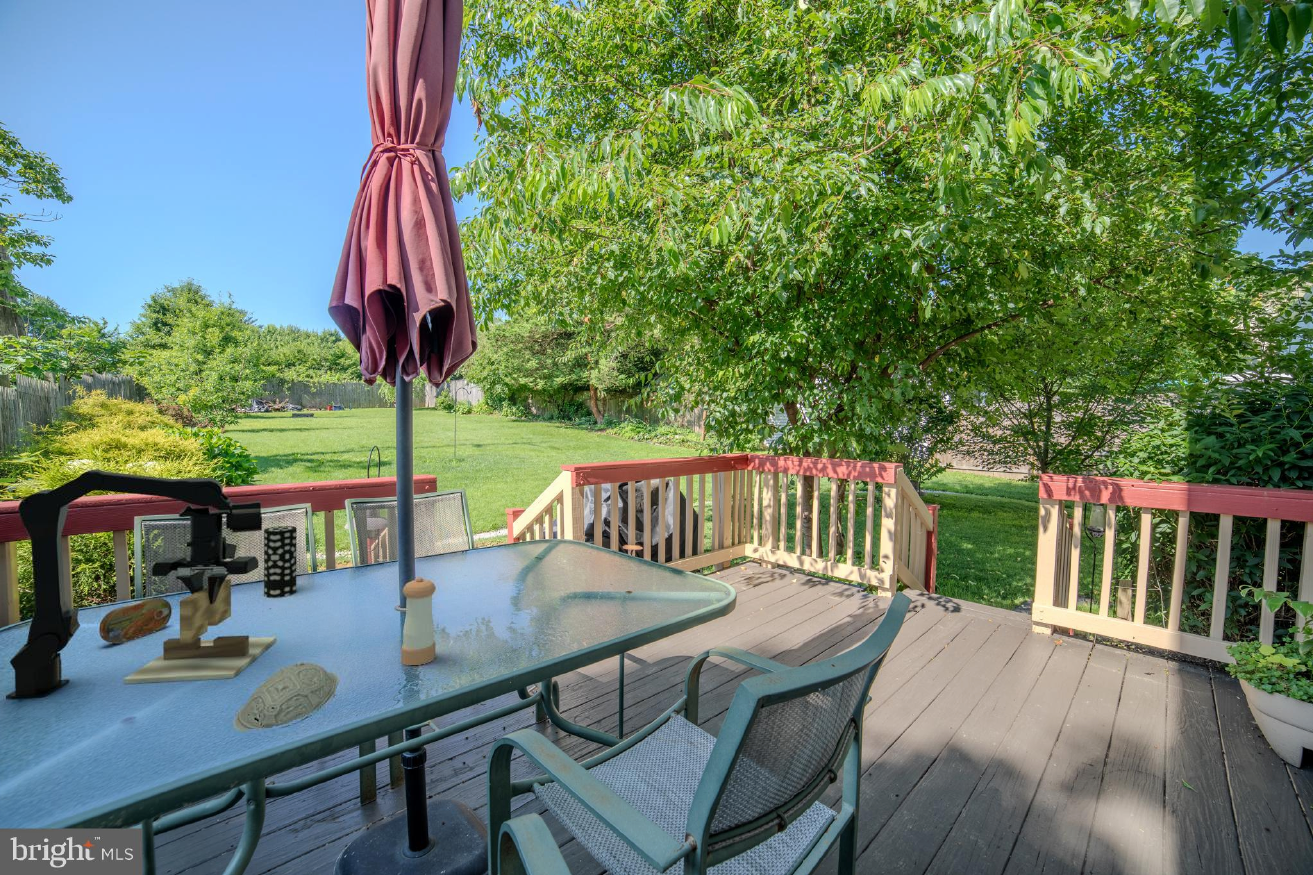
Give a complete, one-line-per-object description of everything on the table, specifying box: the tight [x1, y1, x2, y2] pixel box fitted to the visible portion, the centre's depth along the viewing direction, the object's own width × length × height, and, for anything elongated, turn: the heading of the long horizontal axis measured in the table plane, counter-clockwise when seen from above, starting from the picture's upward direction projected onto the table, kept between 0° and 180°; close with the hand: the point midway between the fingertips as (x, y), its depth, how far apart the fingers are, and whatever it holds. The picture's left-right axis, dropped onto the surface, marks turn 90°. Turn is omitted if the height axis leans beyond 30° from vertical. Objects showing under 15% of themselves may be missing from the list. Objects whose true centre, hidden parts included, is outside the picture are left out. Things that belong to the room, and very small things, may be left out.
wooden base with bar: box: [123, 635, 277, 685], centre depth 130 cm, size 20×20×5 cm
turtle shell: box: [232, 661, 339, 732], centre depth 114 cm, size 16×25×7 cm, turn 12°
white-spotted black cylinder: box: [263, 525, 298, 599], centre depth 177 cm, size 8×8×20 cm
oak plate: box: [179, 578, 232, 643], centre depth 130 cm, size 16×2×9 cm, turn 11°
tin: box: [98, 597, 173, 645], centre depth 142 cm, size 15×3×8 cm, turn 168°
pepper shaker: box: [400, 576, 437, 666], centre depth 133 cm, size 7×7×19 cm
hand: (206, 603), depth 129 cm, fingers closed on oak plate, 2 cm apart
